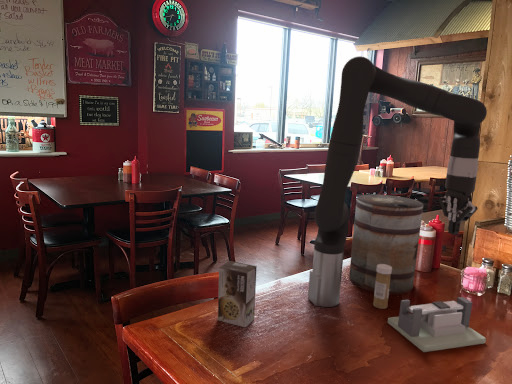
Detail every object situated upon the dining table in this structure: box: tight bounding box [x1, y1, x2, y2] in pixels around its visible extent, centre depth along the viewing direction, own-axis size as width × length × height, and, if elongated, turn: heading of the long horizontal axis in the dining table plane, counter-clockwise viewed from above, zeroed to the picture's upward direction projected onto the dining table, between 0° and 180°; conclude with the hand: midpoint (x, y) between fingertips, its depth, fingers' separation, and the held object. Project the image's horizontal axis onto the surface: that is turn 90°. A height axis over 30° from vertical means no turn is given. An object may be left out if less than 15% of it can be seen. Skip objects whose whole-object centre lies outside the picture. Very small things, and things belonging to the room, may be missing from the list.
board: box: [387, 296, 487, 353], centre depth 121 cm, size 20×16×9 cm
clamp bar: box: [407, 300, 463, 314], centre depth 120 cm, size 16×4×1 cm, turn 107°
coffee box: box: [217, 260, 257, 328], centre depth 122 cm, size 9×6×16 cm
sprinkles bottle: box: [372, 264, 392, 310], centre depth 135 cm, size 5×5×13 cm
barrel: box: [348, 194, 424, 295], centre depth 154 cm, size 22×22×30 cm
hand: (453, 233), depth 122 cm, fingers closed
